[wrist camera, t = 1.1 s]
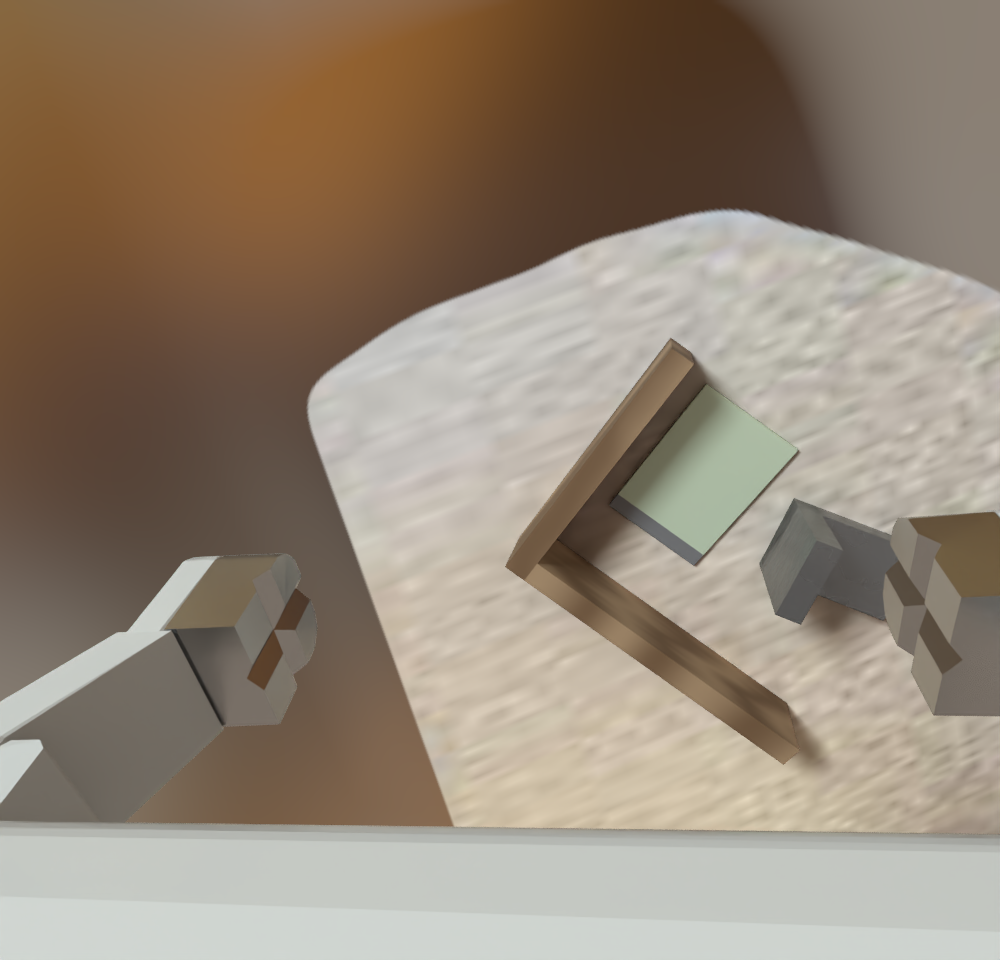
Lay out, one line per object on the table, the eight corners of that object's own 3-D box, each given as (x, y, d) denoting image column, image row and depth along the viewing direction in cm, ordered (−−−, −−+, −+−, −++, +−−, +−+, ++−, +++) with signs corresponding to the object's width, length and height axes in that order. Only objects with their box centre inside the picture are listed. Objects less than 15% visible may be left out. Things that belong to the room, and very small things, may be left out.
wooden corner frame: (959, 543, 43) (995, 578, 39) (772, 716, 50) (783, 764, 45) (670, 337, 43) (672, 348, 39) (519, 537, 50) (505, 566, 45)
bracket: (916, 544, 44) (961, 596, 37) (876, 609, 46) (912, 668, 39) (793, 498, 45) (816, 540, 38) (759, 563, 46) (775, 614, 40)
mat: (797, 448, 44) (798, 450, 43) (693, 563, 47) (693, 565, 47) (706, 383, 44) (706, 384, 43) (609, 503, 47) (609, 505, 47)
